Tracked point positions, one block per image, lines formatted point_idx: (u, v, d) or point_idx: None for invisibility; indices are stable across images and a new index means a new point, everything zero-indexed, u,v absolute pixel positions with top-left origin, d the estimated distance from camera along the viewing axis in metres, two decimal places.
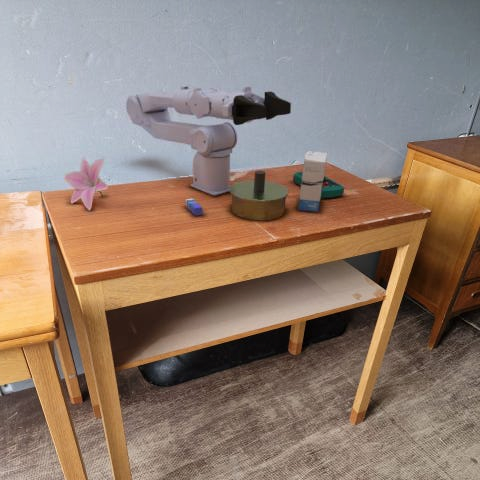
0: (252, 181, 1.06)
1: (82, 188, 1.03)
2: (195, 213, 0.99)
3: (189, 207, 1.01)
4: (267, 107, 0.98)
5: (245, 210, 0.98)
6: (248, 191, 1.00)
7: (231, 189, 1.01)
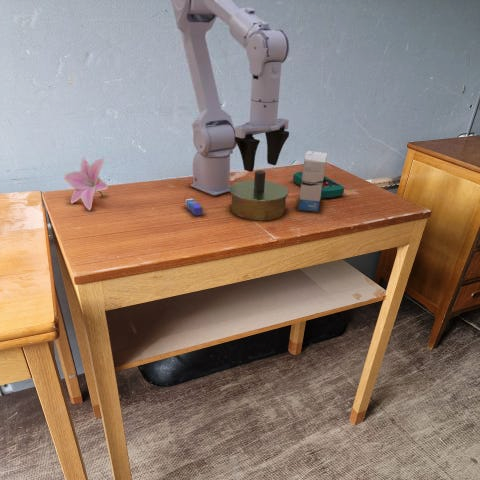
0: (252, 181, 1.06)
1: (82, 188, 1.03)
2: (195, 213, 0.99)
3: (189, 207, 1.01)
4: (273, 135, 0.97)
5: (245, 210, 0.98)
6: (248, 191, 1.00)
7: (231, 189, 1.01)
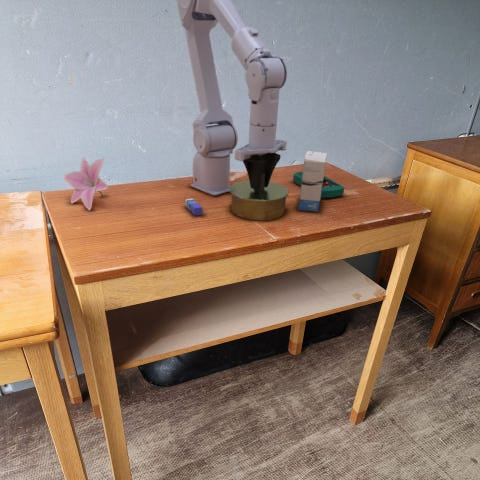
0: None
1: (82, 188, 1.03)
2: (195, 213, 0.99)
3: (189, 207, 1.01)
4: (264, 158, 0.98)
5: (245, 210, 0.98)
6: (248, 191, 1.00)
7: (231, 189, 1.01)
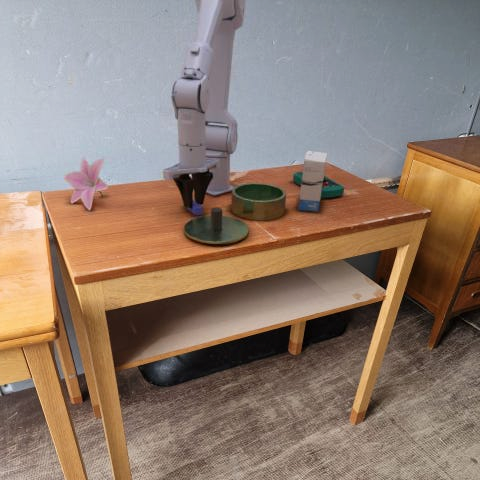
0: (211, 217, 0.97)
1: (82, 188, 1.03)
2: (195, 213, 0.99)
3: None
4: (197, 176, 0.99)
5: (245, 210, 0.98)
6: (204, 230, 0.91)
7: (185, 227, 0.92)
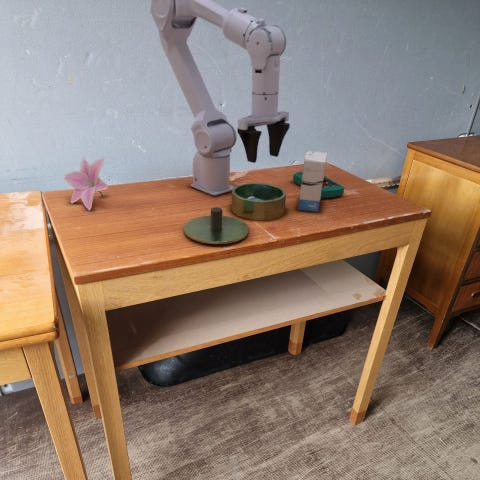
0: (211, 217, 0.97)
1: (82, 188, 1.03)
2: None
3: None
4: (274, 127, 1.01)
5: (245, 210, 0.98)
6: (204, 230, 0.91)
7: (185, 227, 0.92)
